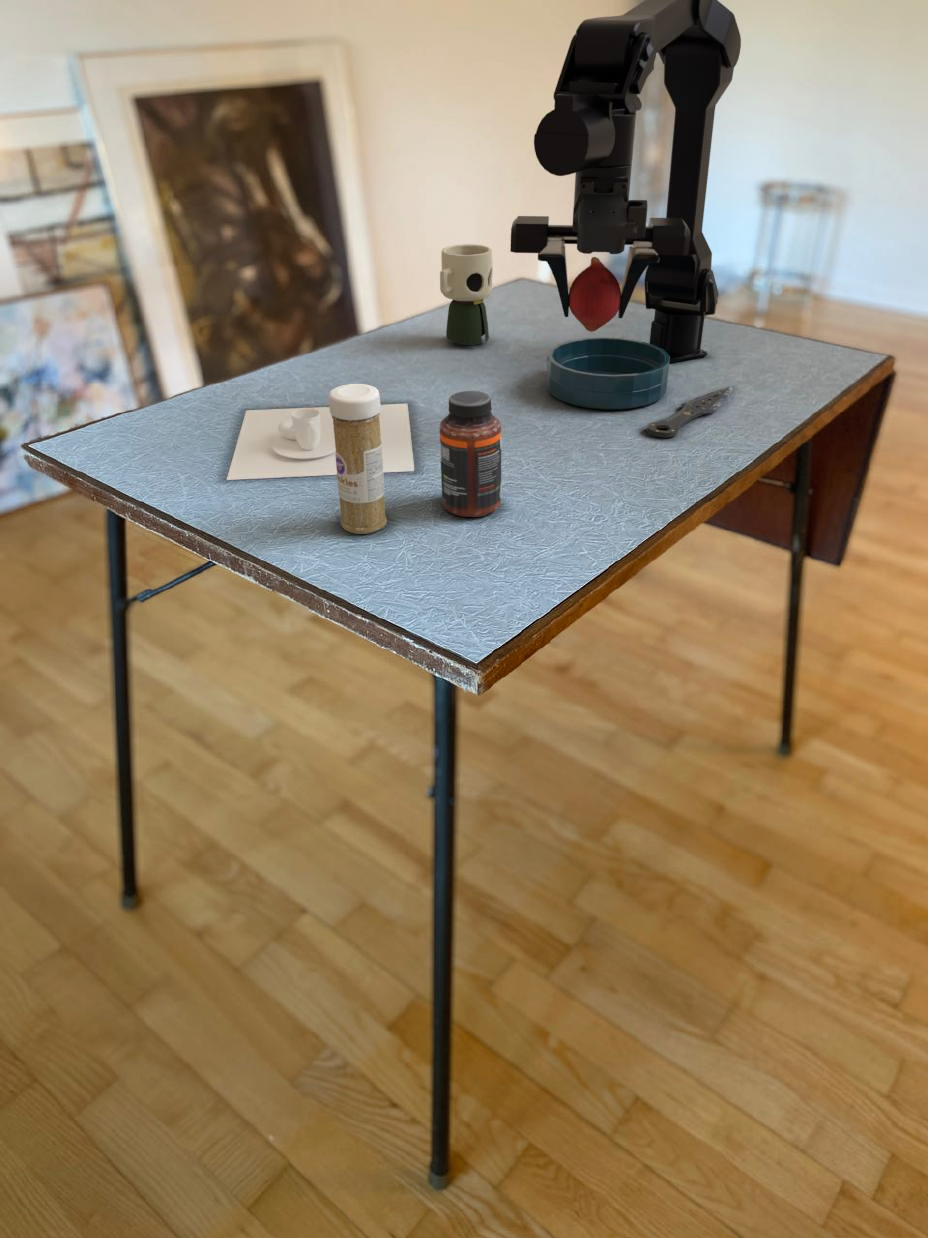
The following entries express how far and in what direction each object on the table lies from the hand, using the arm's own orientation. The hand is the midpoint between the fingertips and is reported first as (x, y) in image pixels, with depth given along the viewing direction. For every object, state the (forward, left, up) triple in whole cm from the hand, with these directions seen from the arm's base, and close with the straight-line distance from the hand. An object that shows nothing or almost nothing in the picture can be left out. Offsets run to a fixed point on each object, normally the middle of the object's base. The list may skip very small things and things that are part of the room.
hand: (593, 316), depth 105 cm
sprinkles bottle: (+33, +13, -13) cm, 38 cm away
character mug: (0, -34, -13) cm, 36 cm away
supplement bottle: (+22, +14, -13) cm, 29 cm away
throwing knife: (-13, +4, -12) cm, 19 cm away
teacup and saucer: (+30, -9, -13) cm, 34 cm away
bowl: (-8, -8, -12) cm, 16 cm away
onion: (0, 0, -2) cm, 2 cm away
